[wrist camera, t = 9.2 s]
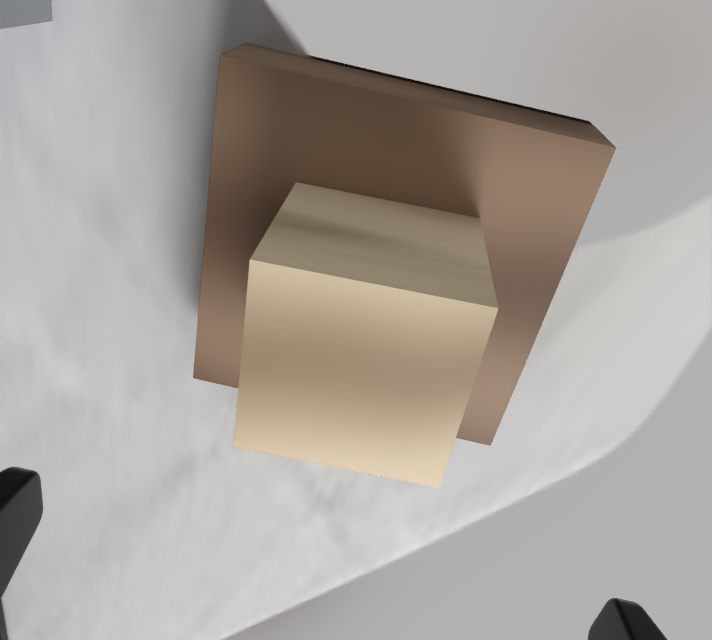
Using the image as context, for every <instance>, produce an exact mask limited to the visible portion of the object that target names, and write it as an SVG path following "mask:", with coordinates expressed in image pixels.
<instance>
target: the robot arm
mask: <svg viewBox="0 0 712 640" xmlns="http://www.w3.org/2000/svg"><path fill="white" fill-rule="evenodd" d="M42 513H43V500H42V490H41V480H40V476H39V474H38V473H37V472H36V471H33V470H28V469H23V468H19V467H10V468H7V469H5V470H3V471H1V472H0V640H7V636H6V630H5V624H4V618H3V612H2V606H1V598H2V596H3V594H4V592H5V590H6V588H7V586H8V584H9V582H10V580H11V578H12V576H13V574H14V572H15V570H16V568H17V566H18V564H19V562H20V560H21V558H22V556H23V554H24V552H25V550H26V548H27V546H28V544H29V542H30V540H31V538H32V536H33V534H34V533H35V531H36V529H37V527H38V525H39V522H40V520H41V517H42ZM588 640H667V638H666V637H665V636H664V635H663V633H662V632H661V631H660V629H659V628H658V627H657V626H656V624H655V623H654V622H653V621H652V619H651V618H650V617H649V615H648V614H647V613H646V612H645V610H644V609H643V608H642V607H641V606H640V605H639V604H637V603H635V602H632V601H627V600H622V599H618V598H612V599H610V600H608V601H607V603H606V604H605V606H604V607H603V609H602V610H601V612H600V613H599V615H598V617H597V618H596V619H595V621H594V623H593V624H592V626H591V628H590V630H589V634H588Z"/></svg>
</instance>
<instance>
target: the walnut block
mask: <svg viewBox="0 0 712 640" xmlns="http://www.w3.org/2000/svg"><path fill="white" fill-rule="evenodd" d="M309 56H310V58H306V57H302V56H298V55H294V54H289V53H285V52H281V51H277V50H272V49H268V48H264V47H260V46H255V45H251V44H247V43H246V44H243V45H241V46H239V47H236V48H234V49H232V50H230V51H227V52H225V53H223V54H221V55H220V59H219V71H218V83H217V95H216V107H215V119H214V131H213V144H212V156H211V168H210V180H209V192H208V204H207V216H206V228H205V240H204V252H203V264H202V277H201V289H200V301H199V313H198V325H197V337H196V349H195V361H194V373H193V378H195V379H200V380H204V381H208V382H213V383H217V384H222V385H226V386H230V387H235V388H239V377H240V365H241V354H242V342H243V331H244V319H245V308H246V296H247V285H248V273H249V262H250V258H251V257H252V255H253V253H254V252H255V250H256V248H257V247H258V245H259V243H260V242H261V240H262V238H263V237H264V235H265V233H266V232H267V230H268V228H269V226H270V225H271V223H272V221H273V220H274V218H275V216H276V215H277V213H278V211H279V210H280V208H281V206H282V205H283V203H284V201H285V200H286V198H287V196H288V195H289V193H290V191H291V190H292V188H293V186H294V185H295V183H296V182H298V183H303V184H308V185H313V186H318V187H323V188H329V189H334V190H339V191H344V192H349V193H354V194H359V195H364V196H369V197H374V198H379V199H385V200H390V201H395V202H400V203H405V204H410V205H415V206H420V207H425V208H430V209H436V210H441V211H446V212H451V213H456V214H461V215H466V216H471V217H476V218H480V221H481V226H482V231H483V235H484V240H485V245H486V250H487V255H488V260H489V265H490V269H491V274H492V279H493V284H494V289H495V294H496V298H497V303H498V308H499V309H498V312H497V315H496V318H495V321H494V324H493V327H492V330H491V333H490V336H489V339H488V342H487V345H486V348H485V351H484V354H483V357H482V360H481V363H480V366H479V369H478V372H477V375H476V378H475V381H474V384H473V387H472V390H471V393H470V396H469V399H468V402H467V405H466V408H465V412H464V415H463V418H462V421H461V424H460V427H459V430H458V433H457V436H456V438H459V439H464V440H468V441H472V442H477V443H481V444H486V445H490V446H491V443H492V441H493V439H494V436H495V434H496V431H497V429H498V427H499V424H500V422H501V420H502V417H503V415H504V412H505V410H506V408H507V405H508V403H509V401H510V398H511V396H512V393H513V391H514V389H515V386H516V384H517V382H518V379H519V377H520V375H521V372H522V370H523V367H524V365H525V363H526V360H527V358H528V356H529V353H530V351H531V348H532V346H533V344H534V341H535V339H536V337H537V334H538V332H539V329H540V327H541V325H542V322H543V320H544V318H545V315H546V313H547V310H548V308H549V306H550V303H551V301H552V299H553V296H554V294H555V292H556V289H557V287H558V284H559V282H560V280H561V277H562V275H563V273H564V270H565V268H566V265H567V263H568V261H569V258H570V256H571V254H572V251H573V249H574V246H575V244H576V242H577V239H578V237H579V235H580V232H581V230H582V227H583V225H584V223H585V220H586V218H587V216H588V213H589V211H590V209H591V206H592V204H593V201H594V199H595V197H596V194H597V192H598V189H599V187H600V185H601V182H602V180H603V178H604V175H605V173H606V170H607V168H608V166H609V163H610V161H611V159H612V156H613V154H614V152H615V149H616V147H615V146H614V145H613V144H612V143H611V142H610V141H609V140H608V139H607V138H606V137H605V136H604V135H603V134H602V133H601V132H600V131H599V130H598V129H597V128H596V127H595V126H593V125H592V123H591V122H589V121H587V120H583V119H579V118H574V117H570V116H566V115H562V114H557V113H553V112H549V111H544V110H540V109H536V108H532V107H527V106H523V105H519V104H515V103H510V102H506V101H501V100H498V99H493V98H489V97H485V96H481V95H476V94H472V93H468V92H464V91H459V90H455V89H451V88H446V87H442V86H438V85H433V84H429V83H425V82H421V81H417V80H413V79H408V78H404V77H400V76H396V75H391V74H387V73H383V72H379V71H374V70H370V69H366V68H362V67H357V66H353V65H349V64H344V63H340V62H336V61H332V60H328V59H323V58H319V57H315V56H311V55H309Z"/></svg>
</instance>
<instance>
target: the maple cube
mask: <svg viewBox="0 0 712 640" xmlns="http://www.w3.org/2000/svg"><path fill="white" fill-rule="evenodd" d="M498 309H499V308H498V303H497V298H496V294H495V289H494V284H493V279H492V274H491V269H490V265H489V260H488V255H487V250H486V245H485V240H484V235H483V231H482V226H481V221H480V218H476V217H471V216H466V215H461V214H456V213H451V212H446V211H441V210H436V209H430V208H425V207H420V206H415V205H410V204H405V203H400V202H395V201H390V200H385V199H379V198H374V197H369V196H364V195H359V194H354V193H349V192H344V191H339V190H334V189H329V188H323V187H318V186H313V185H308V184H303V183H298V182H296V183H295V185H294V186H293V188H292V190H291V191H290V193H289V195H288V196H287V198H286V200H285V201H284V203H283V205H282V206H281V208H280V210H279V211H278V213H277V215H276V216H275V218H274V220H273V221H272V223H271V225H270V226H269V228H268V230H267V232H266V233H265V235H264V237H263V238H262V240H261V242H260V243H259V245H258V247H257V248H256V250H255V252H254V253H253V255H252V257H251V258H250V262H249V273H248V285H247V296H246V308H245V319H244V331H243V342H242V354H241V365H240V377H239V388H238V400H237V411H236V422H235V434H234V445H233V447H234V448H239V449H244V450H249V451H254V452H259V453H264V454H269V455H275V456H280V457H285V458H290V459H295V460H300V461H305V462H310V463H315V464H320V465H325V466H330V467H335V468H340V469H346V470H351V471H356V472H361V473H366V474H371V475H376V476H381V477H386V478H391V479H396V480H401V481H406V482H412V483H417V484H422V485H427V486H432V487H437V488H439V487H440V484H441V481H442V478H443V475H444V472H445V469H446V466H447V463H448V460H449V457H450V454H451V451H452V448H453V445H454V442H455V439H456V436H457V433H458V430H459V427H460V424H461V421H462V418H463V415H464V412H465V408H466V405H467V402H468V399H469V396H470V393H471V390H472V387H473V384H474V381H475V378H476V375H477V372H478V369H479V366H480V363H481V360H482V357H483V354H484V351H485V348H486V345H487V342H488V339H489V336H490V333H491V330H492V327H493V324H494V321H495V318H496V315H497V312H498Z"/></svg>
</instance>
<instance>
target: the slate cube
mask: <svg viewBox="0 0 712 640" xmlns="http://www.w3.org/2000/svg"><path fill="white" fill-rule="evenodd" d="M48 21H52V4H51V0H0V29H3V28H9V27H16V26H22V25H29V24H35V23H42V22H48Z"/></svg>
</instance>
